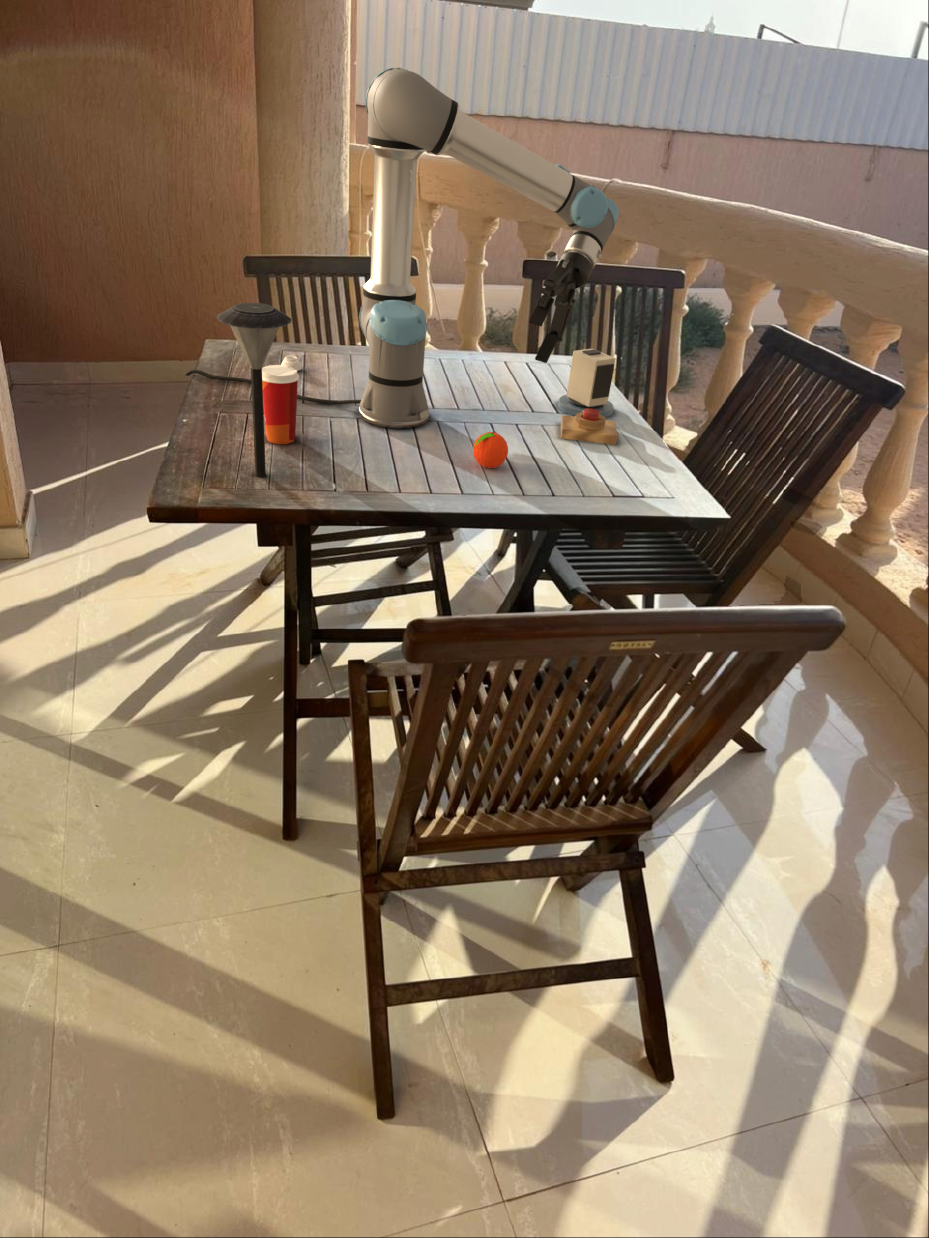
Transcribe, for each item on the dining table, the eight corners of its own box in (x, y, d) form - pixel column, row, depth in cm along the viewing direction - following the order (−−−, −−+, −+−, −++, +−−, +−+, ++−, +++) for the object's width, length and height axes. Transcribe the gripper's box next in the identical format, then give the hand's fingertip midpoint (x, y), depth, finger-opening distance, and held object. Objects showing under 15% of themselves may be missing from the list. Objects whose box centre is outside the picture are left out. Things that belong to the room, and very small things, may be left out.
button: (582, 420, 191) (583, 413, 190) (582, 415, 194) (583, 407, 193) (598, 422, 191) (600, 414, 190) (598, 417, 194) (599, 409, 193)
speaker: (561, 398, 208) (569, 349, 202) (587, 394, 213) (595, 346, 206) (585, 410, 202) (594, 360, 196) (612, 405, 207) (621, 356, 201)
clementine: (483, 477, 169) (487, 442, 165) (460, 465, 173) (463, 430, 170) (513, 469, 174) (517, 435, 170) (489, 457, 178) (493, 423, 174)
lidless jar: (305, 371, 214) (294, 365, 216) (305, 359, 212) (294, 353, 215) (288, 374, 211) (276, 368, 213) (287, 361, 209) (276, 356, 212)
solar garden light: (298, 487, 158) (296, 318, 142) (228, 490, 155) (218, 316, 138) (290, 460, 168) (287, 299, 152) (224, 462, 164) (213, 297, 148)
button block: (560, 438, 191) (563, 421, 188) (560, 424, 198) (563, 407, 196) (615, 445, 190) (619, 427, 188) (613, 430, 198) (616, 413, 196)
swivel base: (558, 415, 203) (559, 408, 202) (557, 397, 214) (558, 391, 213) (614, 421, 203) (615, 415, 202) (610, 403, 214) (611, 397, 213)
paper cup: (285, 429, 181) (284, 361, 173) (307, 441, 177) (307, 372, 169) (253, 436, 176) (250, 367, 168) (275, 449, 172) (273, 379, 164)
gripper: (592, 226, 178) (550, 311, 174) (595, 302, 201) (558, 379, 197) (558, 217, 180) (515, 301, 176) (565, 294, 203) (527, 369, 199)
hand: (538, 343), depth 187 cm, fingers open, 13 cm apart
